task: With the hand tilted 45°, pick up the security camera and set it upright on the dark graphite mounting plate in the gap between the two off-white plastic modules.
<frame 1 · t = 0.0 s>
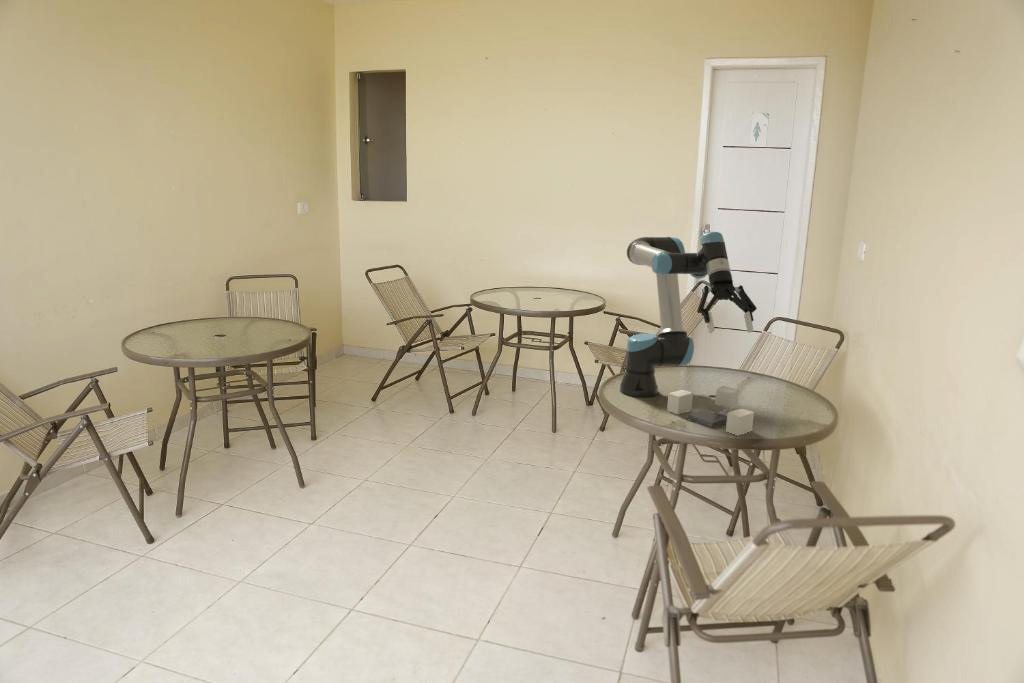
hand: (731, 331, 228), 36 cm above the table, tool tilted 35°, fingers open, 13 cm apart
mount plate: (707, 420, 248), on the table
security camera: (726, 415, 255), on the table
mounted modules: (707, 420, 248), on the table
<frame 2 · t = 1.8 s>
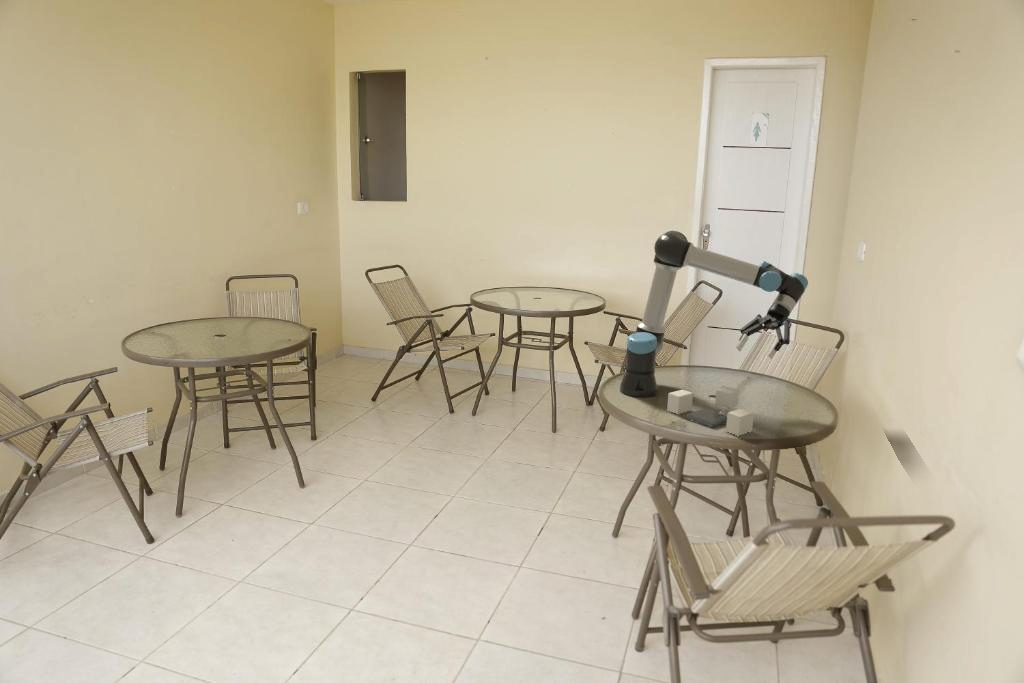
hand: (753, 352, 257), 22 cm above the table, tool tilted 45°, fingers open, 13 cm apart
nothing on the table moved.
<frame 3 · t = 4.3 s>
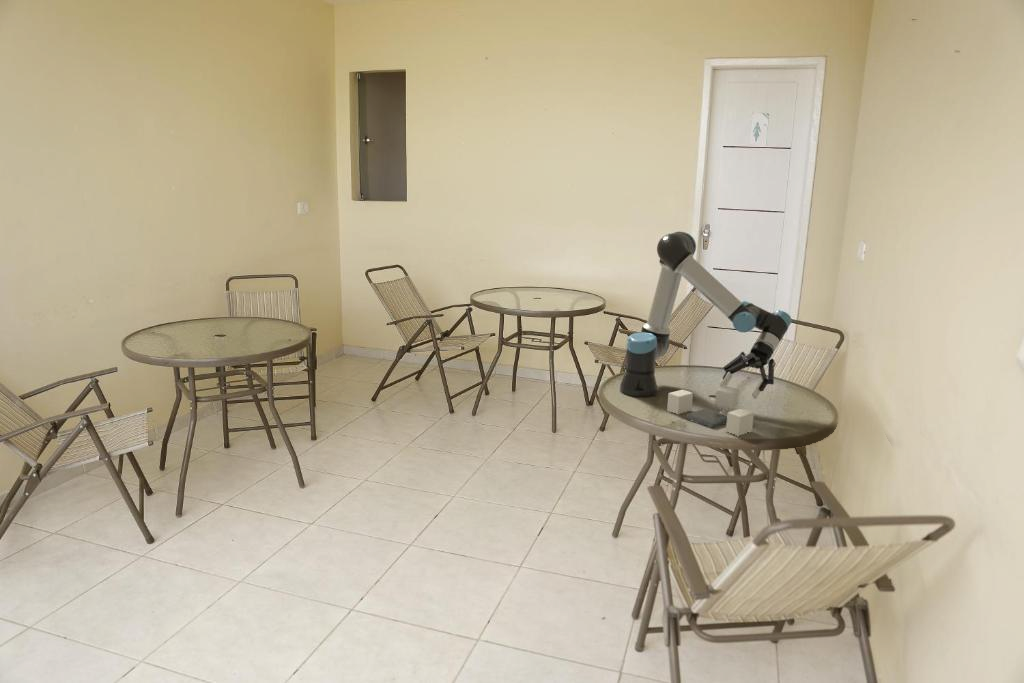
hand: (737, 392, 254), 8 cm above the table, tool tilted 45°, fingers open, 13 cm apart
nothing on the table moved.
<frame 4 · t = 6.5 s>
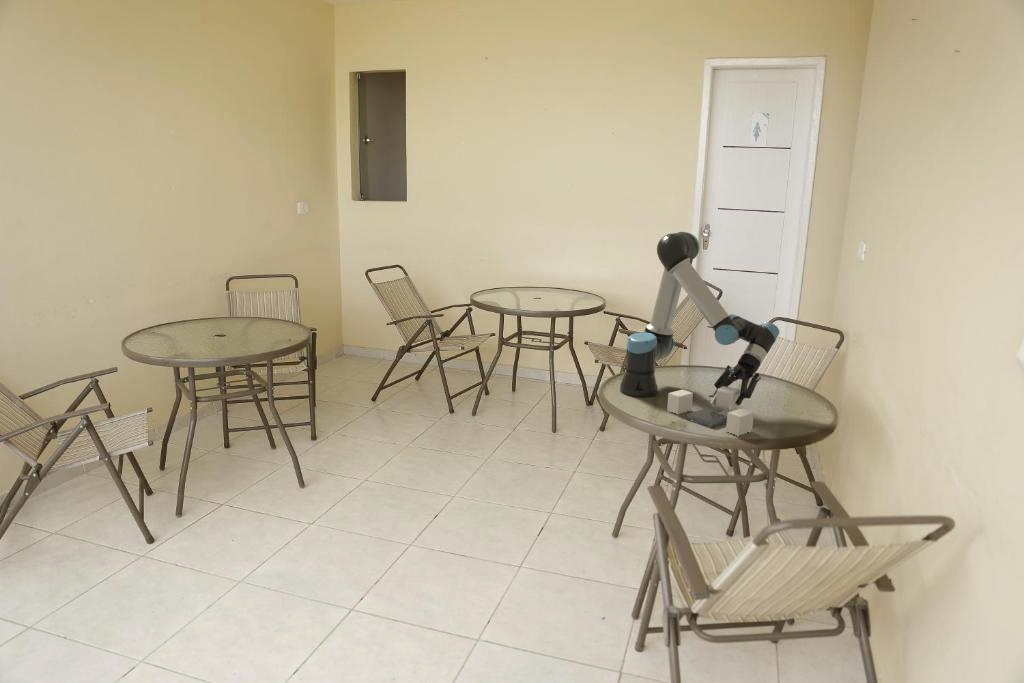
hand: (721, 407, 252), 4 cm above the table, tool tilted 45°, fingers closed on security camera, 7 cm apart
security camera: (726, 415, 255), on the table, touching gripper
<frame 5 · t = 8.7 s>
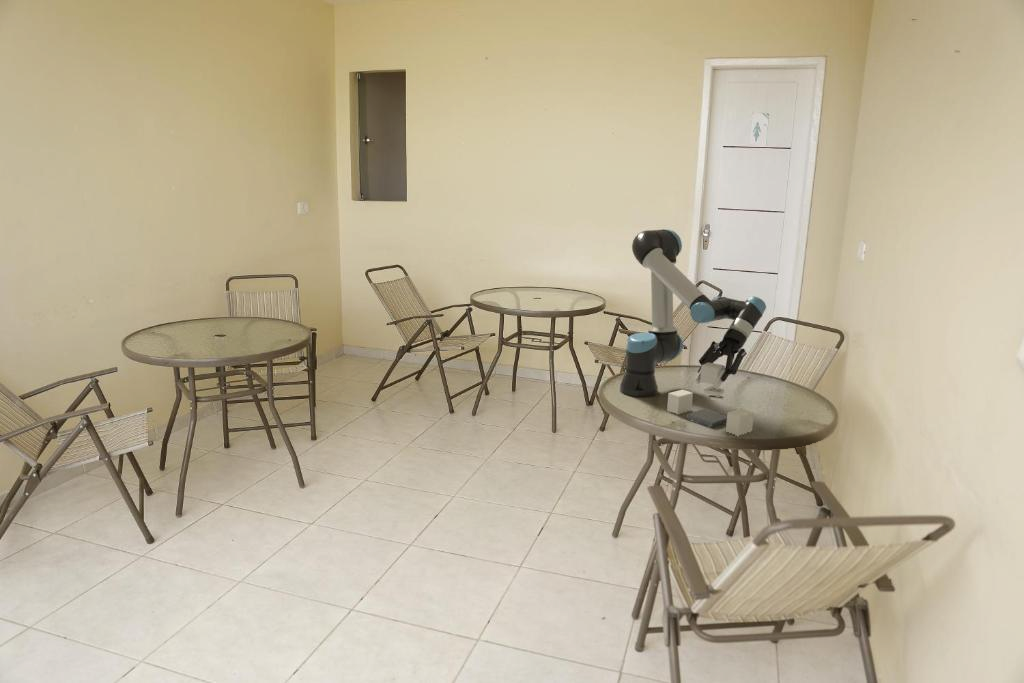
hand: (705, 384, 243), 14 cm above the table, tool tilted 45°, fingers closed on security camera, 7 cm apart
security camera: (711, 392, 246), point 11 cm above the table, touching gripper
when the fingers open (7 cm above the table, at t = 10.8 s): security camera drops 1 cm, resting on mount plate.
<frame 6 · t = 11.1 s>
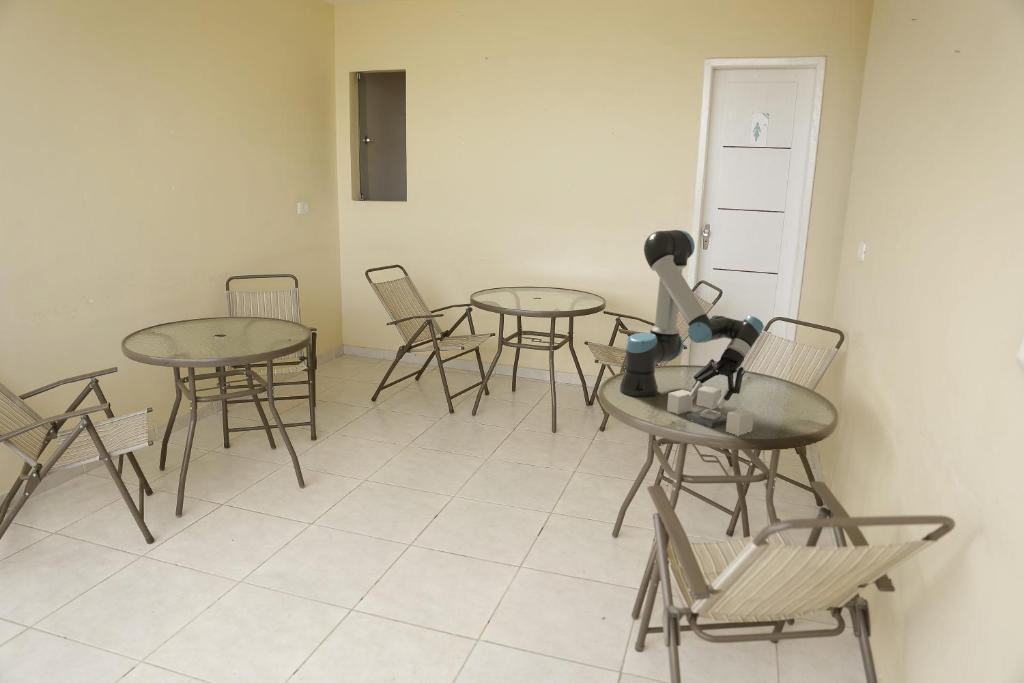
hand: (704, 401, 245), 8 cm above the table, tool tilted 45°, fingers open, 11 cm apart
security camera: (708, 416, 248), point 2 cm above the table, touching mount plate
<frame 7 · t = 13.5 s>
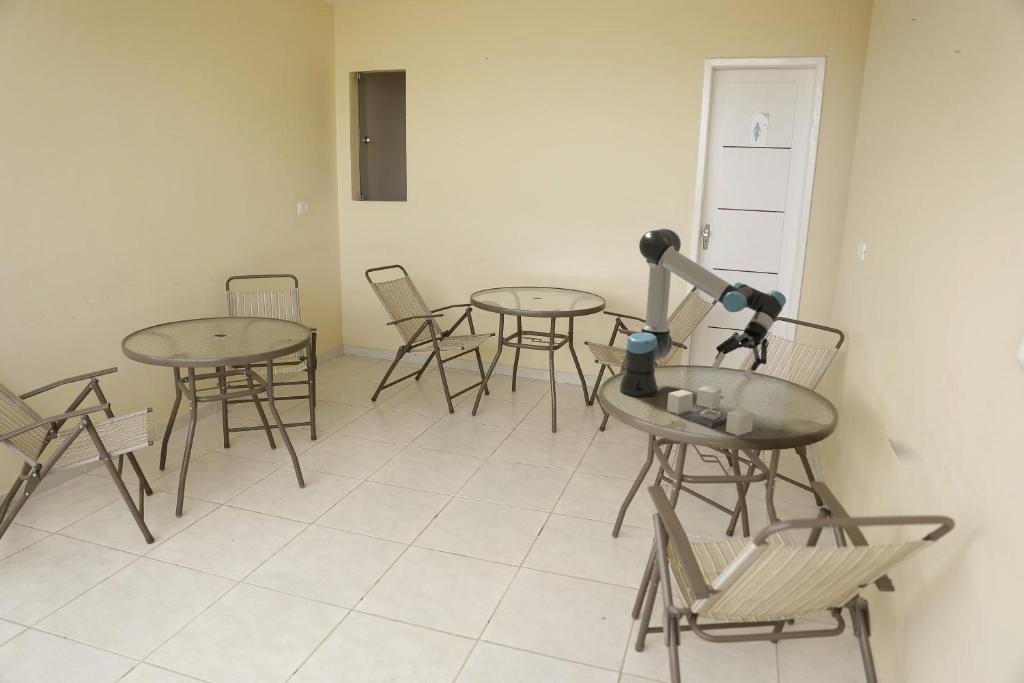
hand: (729, 372, 250), 17 cm above the table, tool tilted 45°, fingers open, 13 cm apart
nothing on the table moved.
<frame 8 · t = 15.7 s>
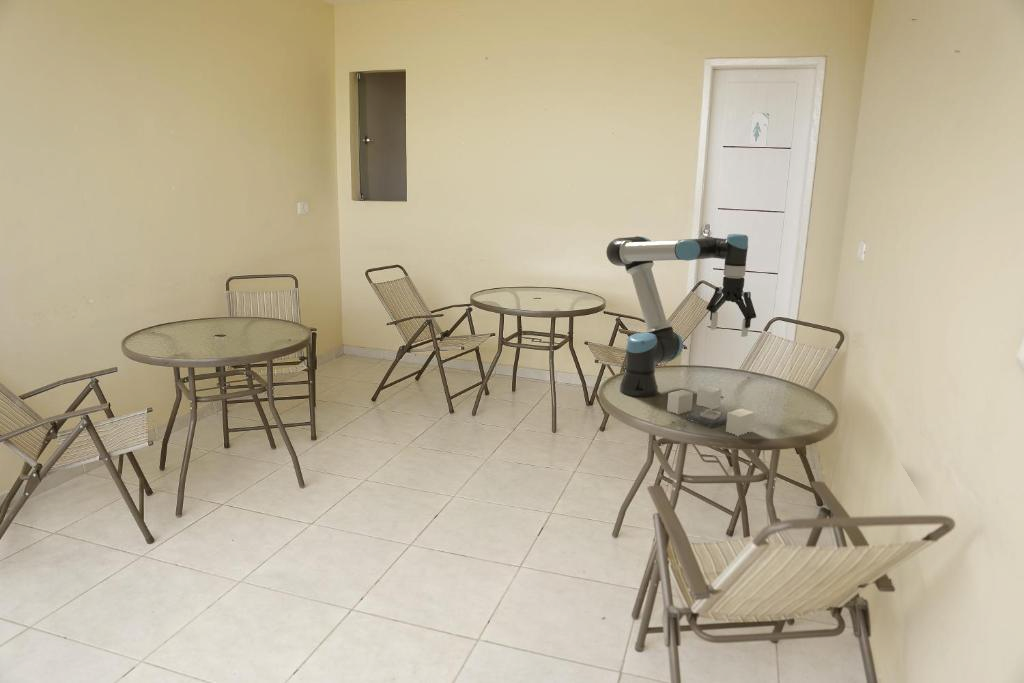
hand: (728, 332, 259), 29 cm above the table, tool pointing down, fingers open, 13 cm apart
nothing on the table moved.
at the end: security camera 0.0 cm off-centre on the mount plate, point 1.8 cm above the mount plate's base; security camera tilted 0°; the gripper is holding nothing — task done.
